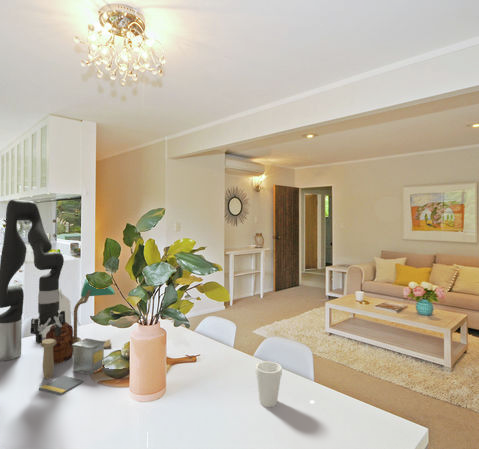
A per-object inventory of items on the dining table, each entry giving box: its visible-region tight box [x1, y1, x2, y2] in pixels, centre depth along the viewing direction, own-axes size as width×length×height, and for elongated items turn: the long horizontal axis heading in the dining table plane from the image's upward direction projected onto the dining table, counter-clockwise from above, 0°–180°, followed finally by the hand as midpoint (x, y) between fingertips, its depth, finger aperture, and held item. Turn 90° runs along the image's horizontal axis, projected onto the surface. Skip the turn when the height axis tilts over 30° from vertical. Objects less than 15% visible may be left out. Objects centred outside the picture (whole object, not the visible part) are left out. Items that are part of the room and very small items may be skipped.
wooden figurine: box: [45, 322, 74, 365], centre depth 150 cm, size 12×6×18 cm, turn 161°
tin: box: [72, 338, 105, 376], centre depth 141 cm, size 11×8×12 cm
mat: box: [38, 375, 85, 396], centre depth 127 cm, size 11×11×1 cm
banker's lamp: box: [71, 278, 116, 354], centre depth 165 cm, size 16×21×35 cm
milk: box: [39, 288, 72, 339], centre depth 183 cm, size 12×12×26 cm
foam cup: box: [255, 360, 283, 408], centre depth 118 cm, size 10×9×13 cm
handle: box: [40, 338, 56, 379], centre depth 134 cm, size 5×6×15 cm
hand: (48, 339), depth 134 cm, fingers open, 8 cm apart
